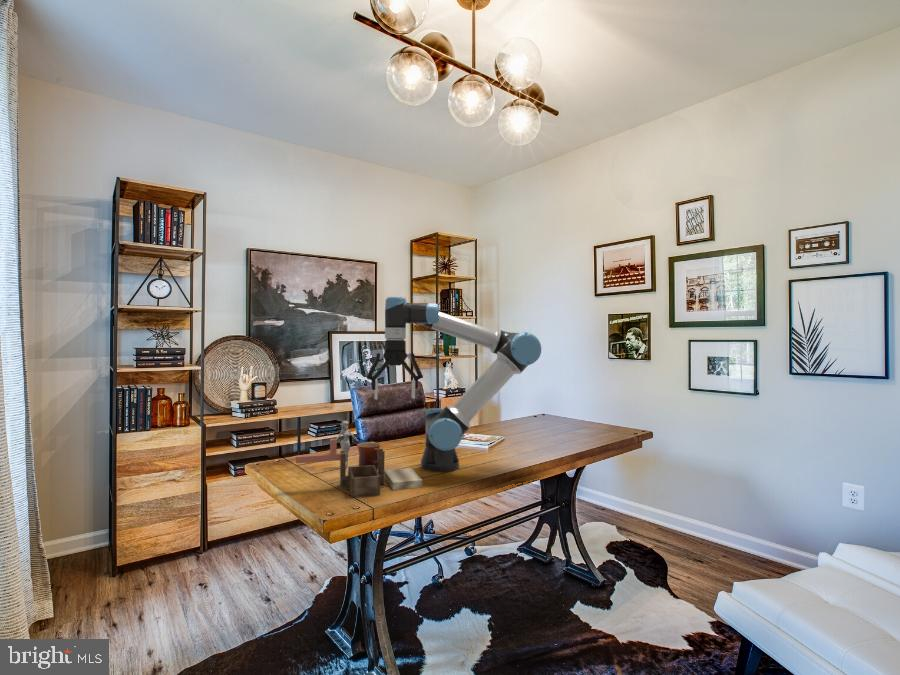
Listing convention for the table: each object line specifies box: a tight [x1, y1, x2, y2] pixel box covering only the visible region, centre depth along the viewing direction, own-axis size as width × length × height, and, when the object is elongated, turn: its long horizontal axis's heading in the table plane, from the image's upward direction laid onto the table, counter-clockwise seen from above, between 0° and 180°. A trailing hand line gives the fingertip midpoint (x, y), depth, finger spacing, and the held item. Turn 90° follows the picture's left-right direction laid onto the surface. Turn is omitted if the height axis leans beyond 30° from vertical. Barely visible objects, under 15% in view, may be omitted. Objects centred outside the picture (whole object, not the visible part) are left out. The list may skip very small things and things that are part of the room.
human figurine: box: [335, 420, 359, 469], centre depth 182 cm, size 12×4×18 cm, turn 133°
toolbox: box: [339, 448, 386, 498], centre depth 156 cm, size 14×14×12 cm
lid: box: [384, 468, 423, 491], centre depth 164 cm, size 10×15×3 cm, turn 19°
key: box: [295, 438, 346, 464], centre depth 156 cm, size 16×2×7 cm, turn 107°
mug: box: [356, 441, 381, 471], centre depth 175 cm, size 12×9×10 cm
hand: (394, 398), depth 169 cm, fingers open, 13 cm apart
